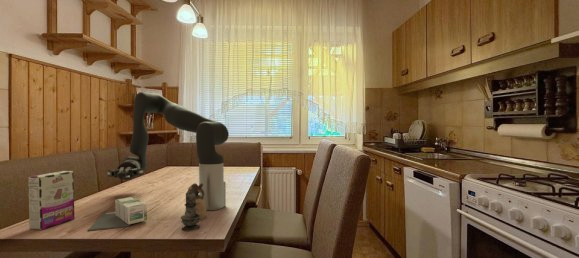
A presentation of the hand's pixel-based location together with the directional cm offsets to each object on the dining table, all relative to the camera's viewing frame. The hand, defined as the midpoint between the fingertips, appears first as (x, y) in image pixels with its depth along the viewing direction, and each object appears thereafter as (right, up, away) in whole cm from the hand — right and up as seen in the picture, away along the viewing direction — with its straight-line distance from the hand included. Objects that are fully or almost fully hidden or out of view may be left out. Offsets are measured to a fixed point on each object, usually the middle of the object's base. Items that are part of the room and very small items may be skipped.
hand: (121, 175), depth 108 cm
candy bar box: (-14, -14, -14) cm, 24 cm away
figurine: (+30, -13, -8) cm, 34 cm away
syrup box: (+4, -10, -5) cm, 11 cm away
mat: (+4, -13, -9) cm, 17 cm away
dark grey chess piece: (+32, -13, -18) cm, 39 cm away
